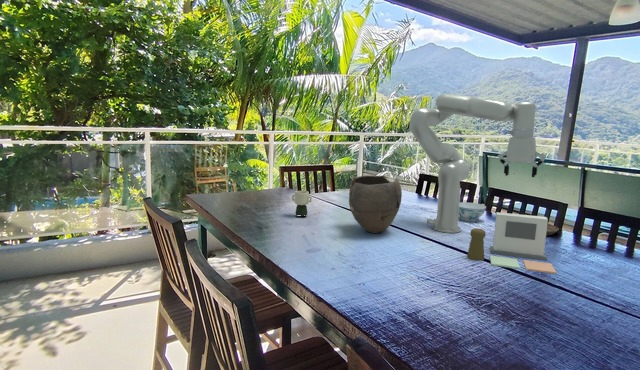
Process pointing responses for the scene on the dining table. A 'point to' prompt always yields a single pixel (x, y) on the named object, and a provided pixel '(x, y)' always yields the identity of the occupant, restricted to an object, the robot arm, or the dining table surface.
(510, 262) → the sage pad
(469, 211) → the chinaware
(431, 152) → the robot arm
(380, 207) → the clay pot
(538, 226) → the white display panel
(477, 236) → the olive pepper shaker
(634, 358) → the dining table surface
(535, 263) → the terracotta pad
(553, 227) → the plant saucer
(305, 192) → the trophy cup
